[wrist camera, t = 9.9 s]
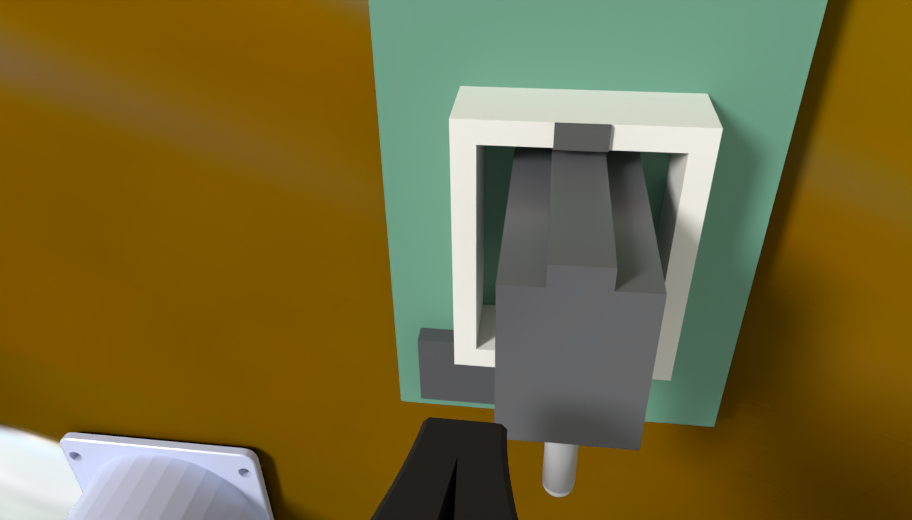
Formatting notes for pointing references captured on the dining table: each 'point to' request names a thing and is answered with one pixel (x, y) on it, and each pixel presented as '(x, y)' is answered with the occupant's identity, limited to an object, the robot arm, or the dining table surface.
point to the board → (582, 129)
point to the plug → (576, 305)
